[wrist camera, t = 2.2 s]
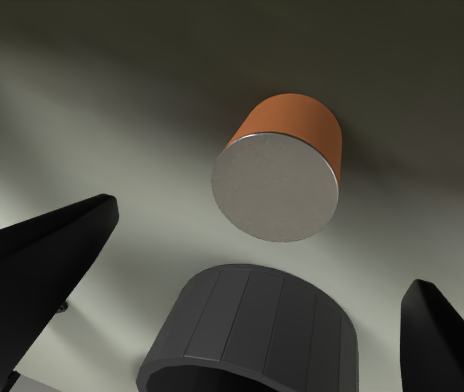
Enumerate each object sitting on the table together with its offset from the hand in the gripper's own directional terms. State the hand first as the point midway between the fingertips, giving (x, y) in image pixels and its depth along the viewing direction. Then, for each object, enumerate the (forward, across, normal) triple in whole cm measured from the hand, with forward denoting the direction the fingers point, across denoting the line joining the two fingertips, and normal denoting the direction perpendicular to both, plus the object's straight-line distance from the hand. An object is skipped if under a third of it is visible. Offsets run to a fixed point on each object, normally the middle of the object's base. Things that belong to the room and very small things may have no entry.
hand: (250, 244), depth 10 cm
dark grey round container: (+7, -1, +15) cm, 17 cm away
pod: (+7, 0, 0) cm, 7 cm away
